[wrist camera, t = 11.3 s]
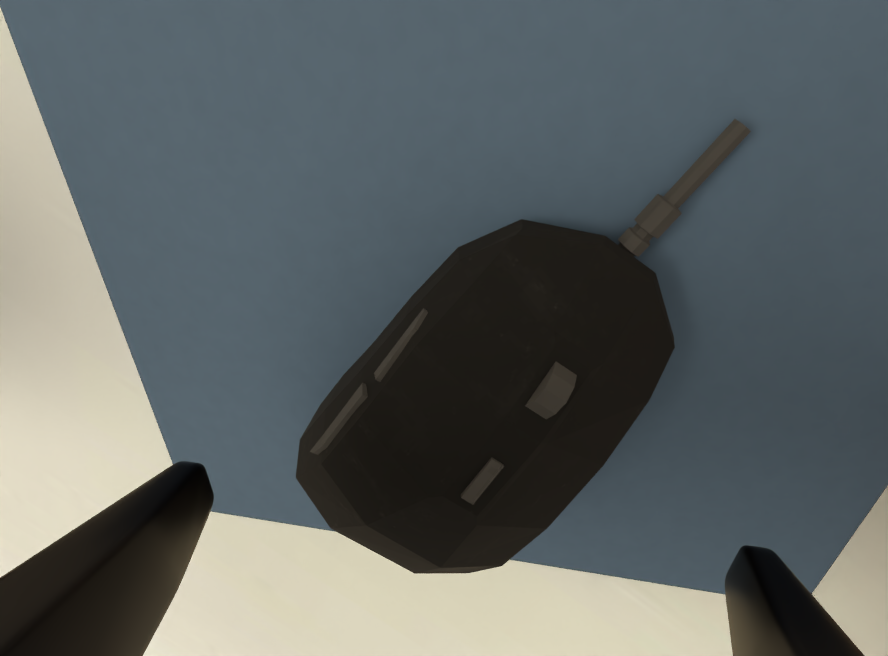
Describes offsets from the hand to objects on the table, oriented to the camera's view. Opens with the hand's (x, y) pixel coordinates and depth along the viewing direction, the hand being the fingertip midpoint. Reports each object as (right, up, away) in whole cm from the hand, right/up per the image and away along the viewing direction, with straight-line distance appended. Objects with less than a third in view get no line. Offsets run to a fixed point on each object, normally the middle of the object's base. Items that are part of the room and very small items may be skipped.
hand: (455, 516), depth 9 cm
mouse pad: (+1, +3, +5) cm, 6 cm away
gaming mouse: (+1, +2, +5) cm, 6 cm away
